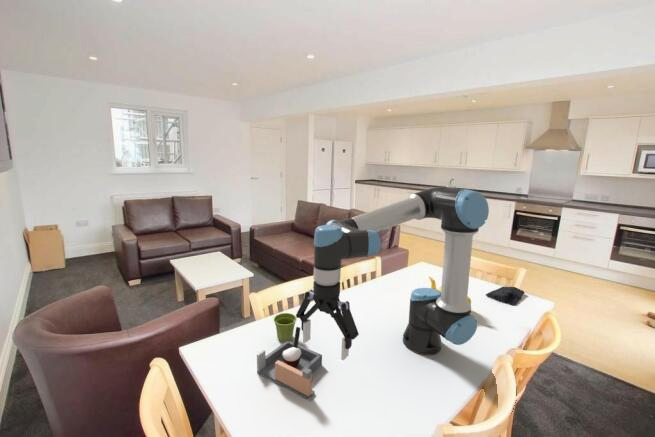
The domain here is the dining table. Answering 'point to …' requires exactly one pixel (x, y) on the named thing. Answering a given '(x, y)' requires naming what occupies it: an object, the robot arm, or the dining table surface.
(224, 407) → the dining table surface
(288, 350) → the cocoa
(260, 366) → the box
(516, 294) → the dark slate chunk
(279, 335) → the plant pot
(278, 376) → the cover
